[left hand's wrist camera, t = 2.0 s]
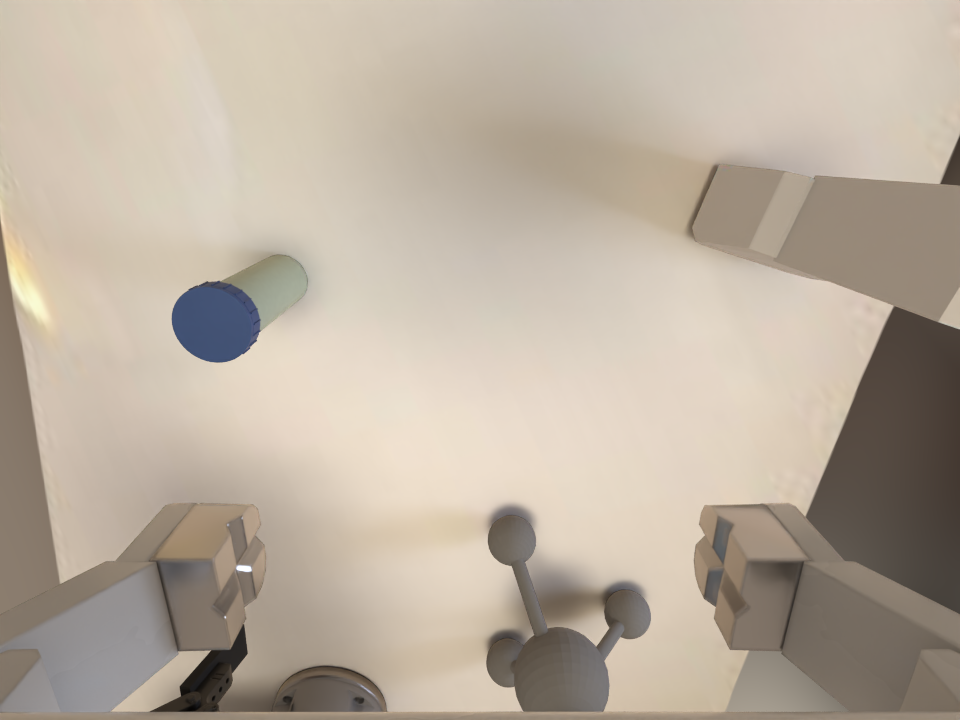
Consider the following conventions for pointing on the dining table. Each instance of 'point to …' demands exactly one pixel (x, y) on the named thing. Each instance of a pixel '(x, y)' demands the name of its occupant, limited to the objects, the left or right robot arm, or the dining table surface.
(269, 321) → the jar
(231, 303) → the lid
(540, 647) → the molecular model
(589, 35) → the dining table surface
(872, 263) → the electronic device
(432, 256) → the dining table surface
